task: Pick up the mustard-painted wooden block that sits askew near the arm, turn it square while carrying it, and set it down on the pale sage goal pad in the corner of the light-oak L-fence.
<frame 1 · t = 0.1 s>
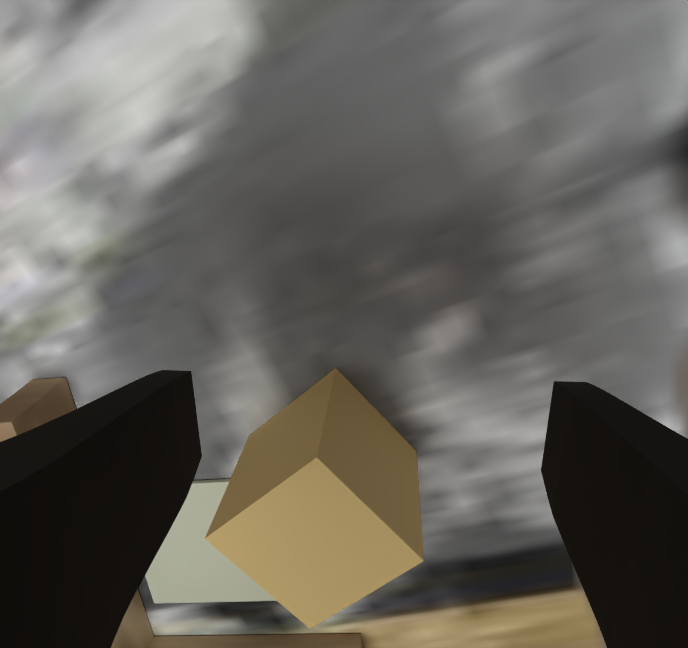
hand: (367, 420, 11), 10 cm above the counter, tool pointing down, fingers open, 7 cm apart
block: (332, 442, 23), on the counter
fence: (203, 525, 25), on the counter
goal pad: (208, 542, 26), on the counter
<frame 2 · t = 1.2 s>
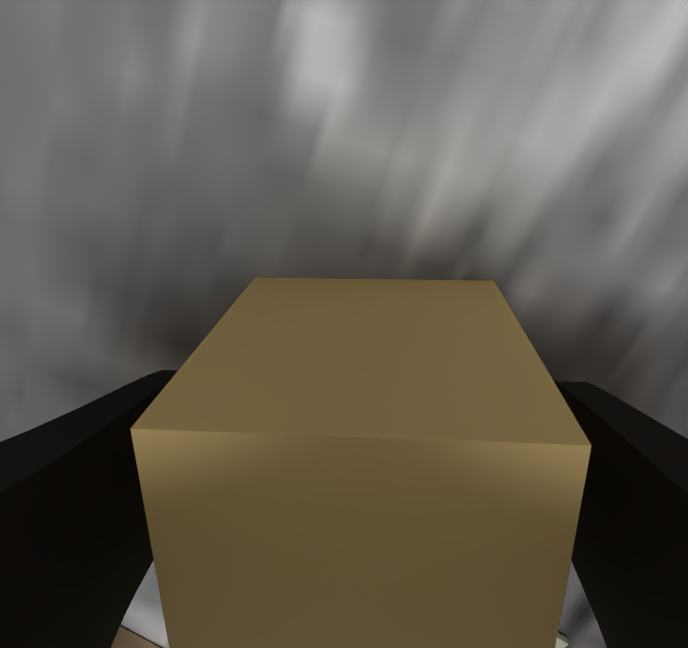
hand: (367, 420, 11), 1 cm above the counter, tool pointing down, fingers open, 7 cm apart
block: (371, 384, 12), on the counter
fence: (353, 630, 15), on the counter
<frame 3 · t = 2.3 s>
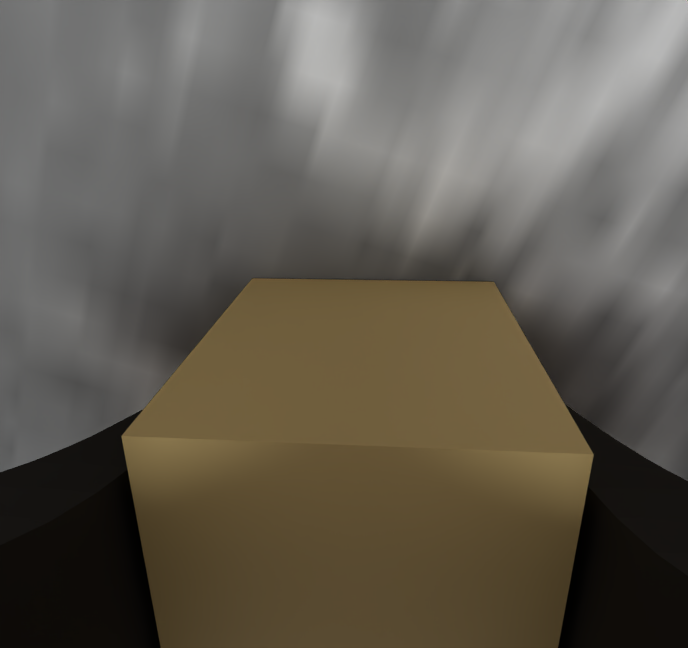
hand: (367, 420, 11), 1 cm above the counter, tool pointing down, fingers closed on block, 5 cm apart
block: (370, 387, 12), on the counter, touching gripper
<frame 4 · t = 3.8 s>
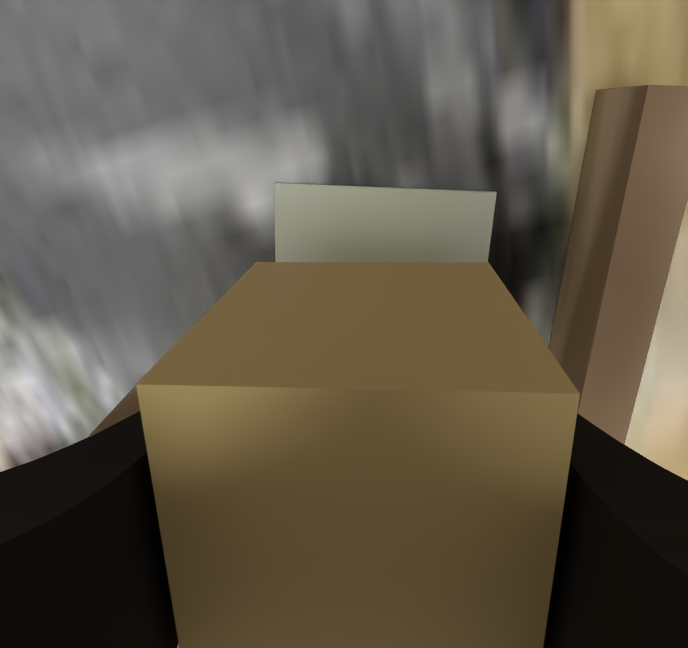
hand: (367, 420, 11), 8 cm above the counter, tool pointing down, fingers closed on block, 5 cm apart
block: (370, 368, 13), point 6 cm above the counter, touching gripper
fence: (349, 289, 19), on the counter
goal pad: (378, 291, 19), on the counter
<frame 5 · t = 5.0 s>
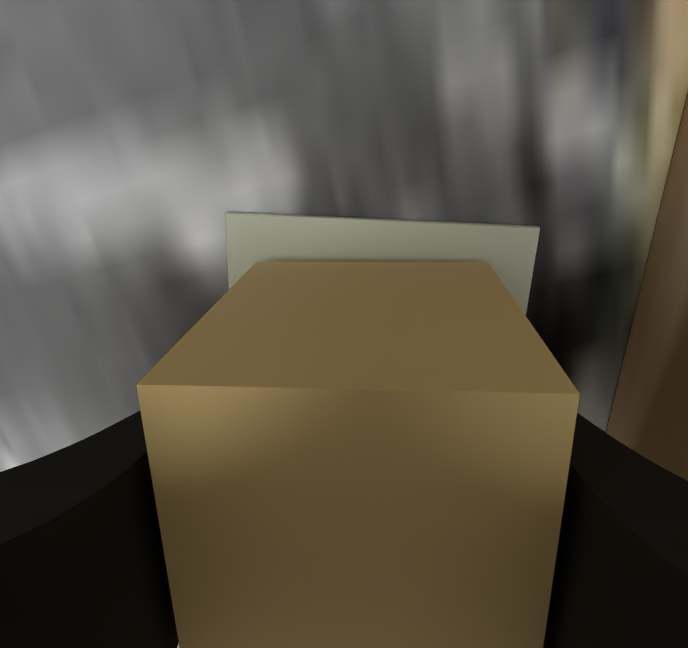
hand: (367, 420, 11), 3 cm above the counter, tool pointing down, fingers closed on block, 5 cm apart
block: (370, 368, 13), point 1 cm above the counter, touching gripper
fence: (332, 356, 14), on the counter
goal pad: (372, 359, 14), on the counter
when the fingers open (3 cm above the counter, at t = 5.7 s): block stays where it is, resting on goal pad.
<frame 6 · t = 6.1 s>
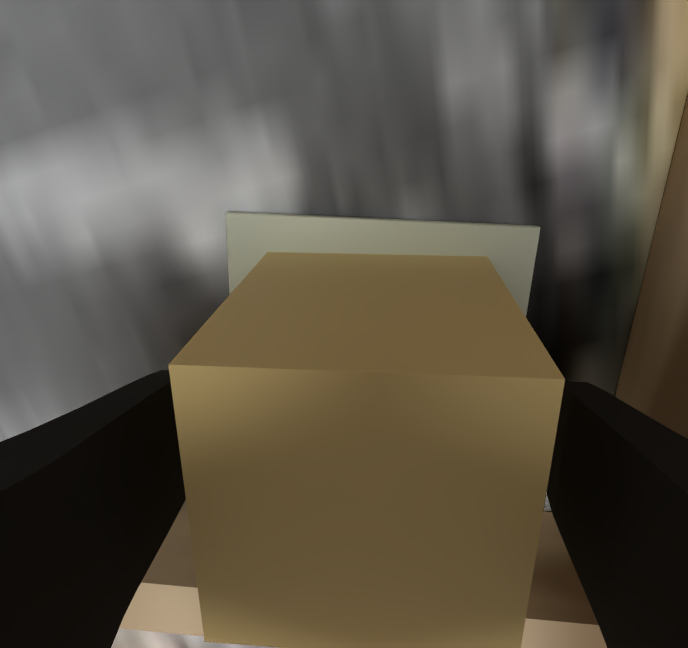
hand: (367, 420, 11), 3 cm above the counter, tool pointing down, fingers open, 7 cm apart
block: (373, 354, 13), resting on goal pad
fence: (332, 356, 14), on the counter
goal pad: (372, 358, 14), on the counter
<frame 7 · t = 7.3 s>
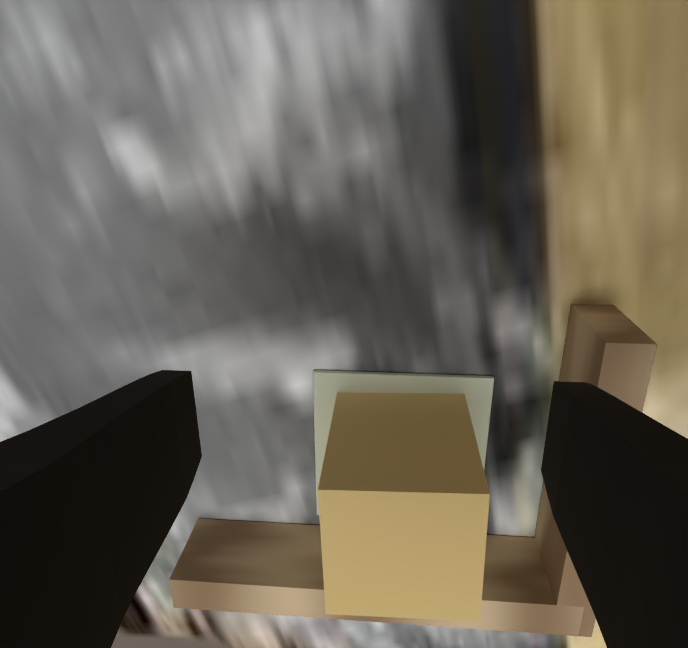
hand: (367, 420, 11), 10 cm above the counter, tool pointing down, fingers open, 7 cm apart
block: (400, 446, 22), resting on goal pad
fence: (375, 447, 23), on the counter
goal pad: (399, 448, 23), on the counter
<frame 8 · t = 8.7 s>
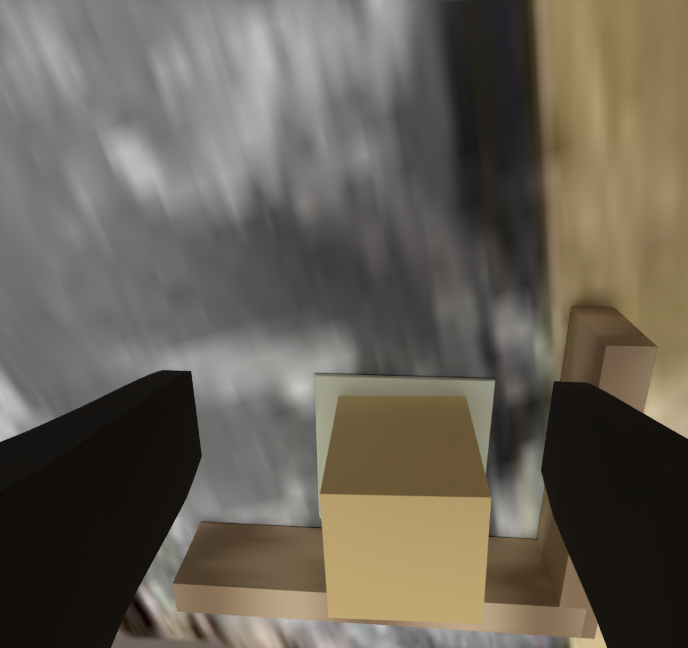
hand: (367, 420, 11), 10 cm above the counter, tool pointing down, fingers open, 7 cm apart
block: (401, 449, 23), resting on goal pad
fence: (376, 450, 23), on the counter
goal pad: (401, 451, 23), on the counter
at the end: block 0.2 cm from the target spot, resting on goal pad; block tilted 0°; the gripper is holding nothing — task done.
